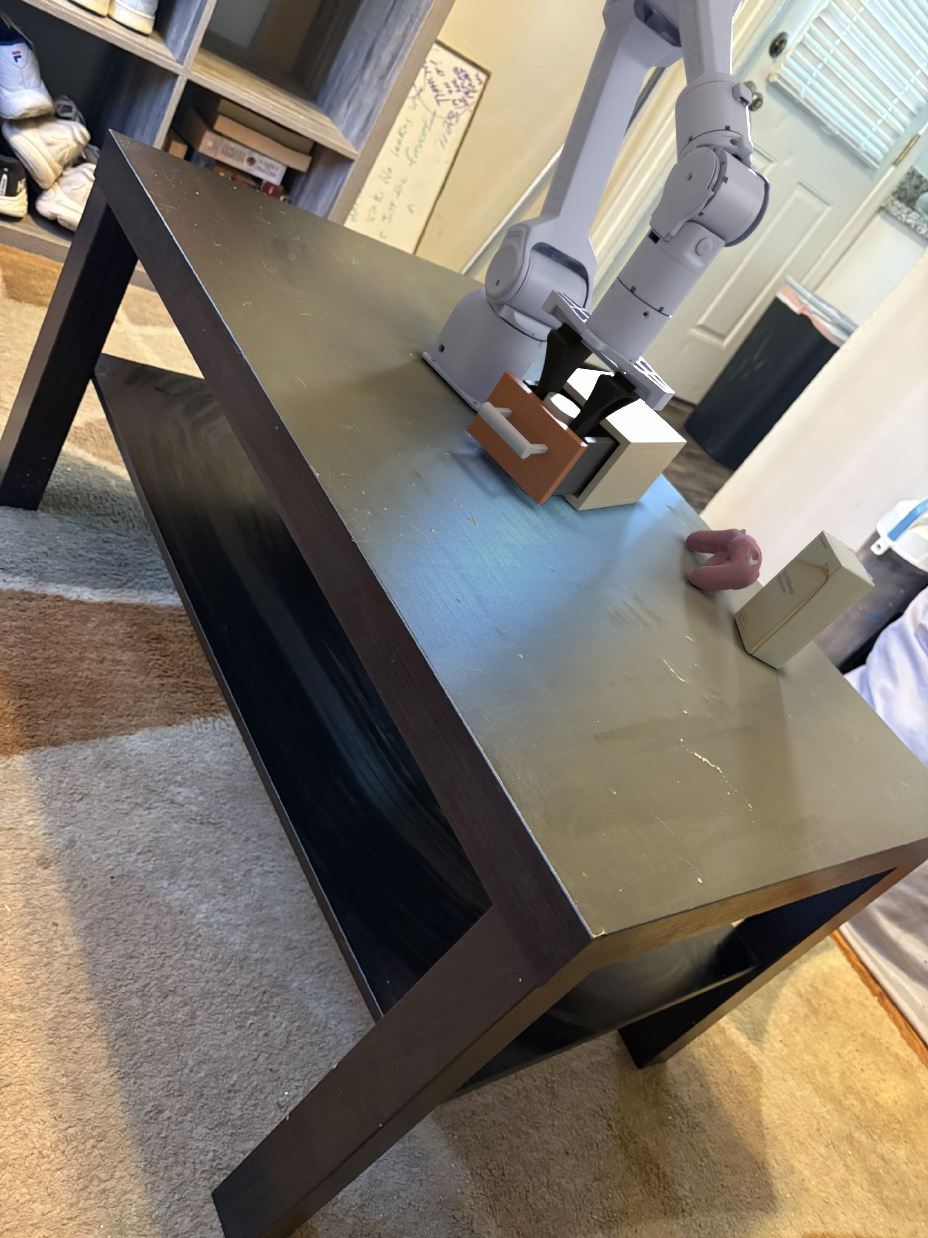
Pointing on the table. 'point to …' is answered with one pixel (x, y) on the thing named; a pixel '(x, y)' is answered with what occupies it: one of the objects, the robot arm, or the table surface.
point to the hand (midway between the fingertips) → (552, 423)
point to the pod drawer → (538, 441)
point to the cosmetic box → (802, 600)
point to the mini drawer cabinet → (625, 450)
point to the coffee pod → (561, 407)
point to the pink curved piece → (725, 559)
